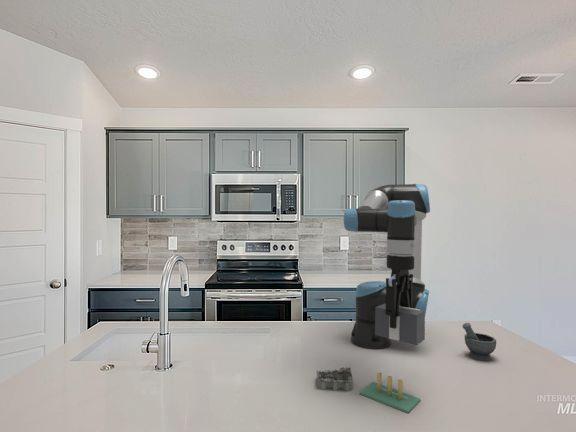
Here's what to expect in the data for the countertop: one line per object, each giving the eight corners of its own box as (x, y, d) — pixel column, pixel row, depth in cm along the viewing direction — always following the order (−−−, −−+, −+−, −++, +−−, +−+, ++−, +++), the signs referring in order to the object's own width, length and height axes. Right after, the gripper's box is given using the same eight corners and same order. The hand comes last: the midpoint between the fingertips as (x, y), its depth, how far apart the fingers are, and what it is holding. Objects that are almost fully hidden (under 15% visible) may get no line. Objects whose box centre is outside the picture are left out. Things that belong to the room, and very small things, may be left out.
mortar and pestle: (485, 351, 129) (485, 318, 128) (502, 362, 119) (502, 327, 119) (455, 351, 128) (455, 319, 128) (470, 362, 119) (470, 327, 119)
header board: (359, 393, 97) (359, 373, 97) (373, 383, 103) (373, 364, 103) (408, 413, 88) (408, 391, 88) (420, 400, 94) (420, 380, 94)
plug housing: (375, 334, 101) (375, 306, 101) (384, 330, 105) (384, 302, 105) (416, 345, 93) (416, 314, 93) (424, 339, 98) (424, 310, 98)
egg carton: (352, 380, 106) (352, 366, 106) (353, 393, 99) (353, 378, 98) (316, 377, 107) (317, 364, 107) (315, 390, 100) (315, 375, 100)
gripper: (399, 258, 90) (398, 348, 90) (425, 253, 104) (424, 331, 104) (372, 255, 95) (371, 341, 94) (401, 251, 109) (400, 326, 109)
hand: (399, 336), depth 99 cm, fingers closed on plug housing, 6 cm apart
